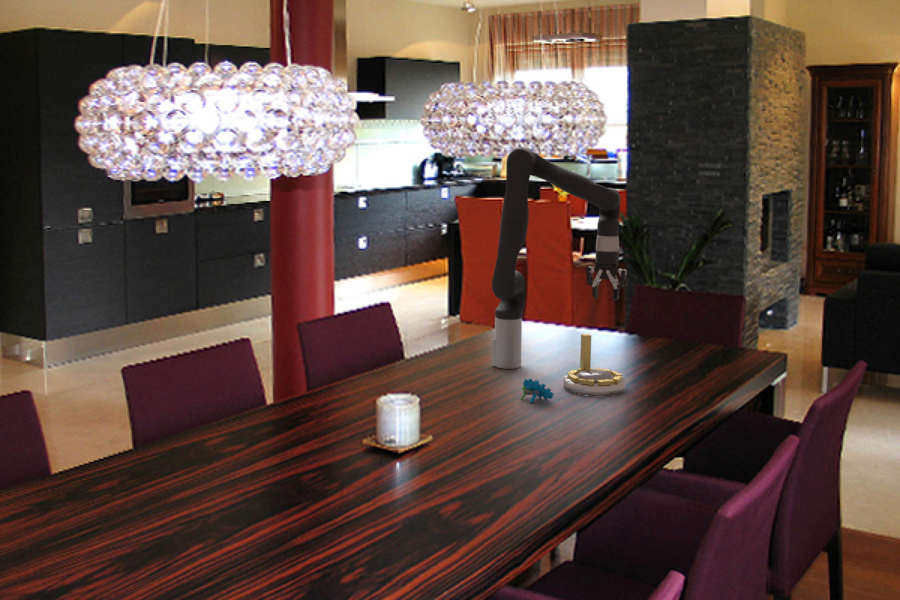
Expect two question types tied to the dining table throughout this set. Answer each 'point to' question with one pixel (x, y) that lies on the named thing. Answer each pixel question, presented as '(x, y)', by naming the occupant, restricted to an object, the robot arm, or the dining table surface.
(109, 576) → the dining table surface
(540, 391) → the blue lobed toy
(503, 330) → the robot arm
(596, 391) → the grey round piece
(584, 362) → the peg on ring base
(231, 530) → the dining table surface
